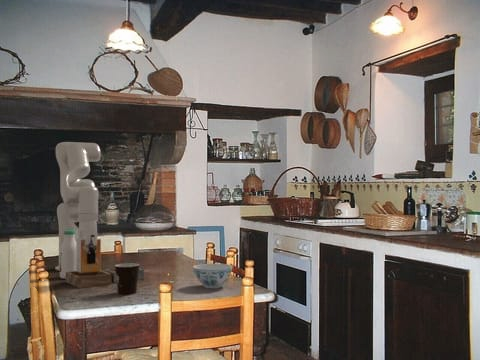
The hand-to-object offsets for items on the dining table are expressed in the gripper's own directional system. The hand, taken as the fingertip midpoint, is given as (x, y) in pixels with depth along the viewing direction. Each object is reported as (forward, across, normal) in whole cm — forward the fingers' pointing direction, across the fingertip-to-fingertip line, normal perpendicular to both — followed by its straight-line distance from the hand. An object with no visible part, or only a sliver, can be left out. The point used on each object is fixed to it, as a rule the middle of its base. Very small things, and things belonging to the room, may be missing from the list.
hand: (88, 262), depth 199 cm
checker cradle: (+8, 0, +15) cm, 17 cm away
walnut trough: (+8, 0, 0) cm, 8 cm away
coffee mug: (+9, +29, +4) cm, 30 cm away
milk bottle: (+8, -18, -2) cm, 20 cm away
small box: (+4, 0, 0) cm, 4 cm away
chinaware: (+9, +36, +36) cm, 52 cm away
